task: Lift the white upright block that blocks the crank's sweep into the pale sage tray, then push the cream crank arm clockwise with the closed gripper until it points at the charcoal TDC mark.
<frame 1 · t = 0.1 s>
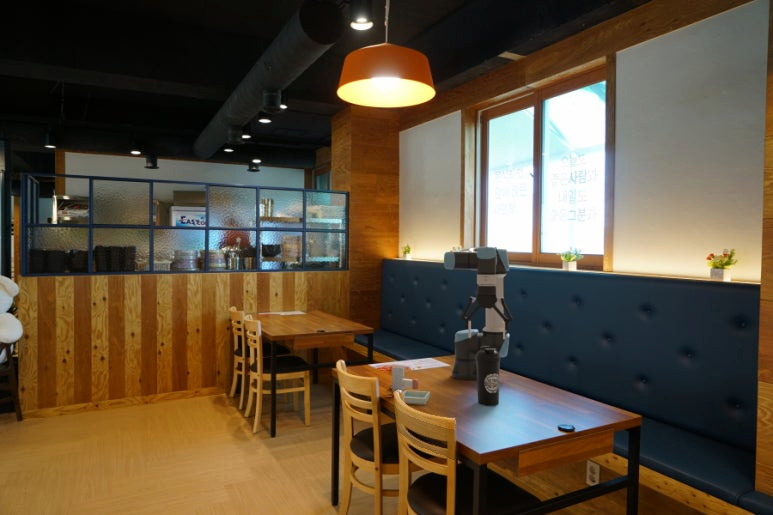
hand: (486, 338, 207), 28 cm above the table, fingers open, 13 cm apart
water bottle: (488, 403, 214), on the table
white upright block: (398, 393, 228), on the table
tdc mark: (388, 396, 224), on the table
tray: (414, 400, 218), on the table
crank base: (396, 388, 238), on the table
crank: (405, 381, 235), point 4 cm above the table, hinge at 70.0°
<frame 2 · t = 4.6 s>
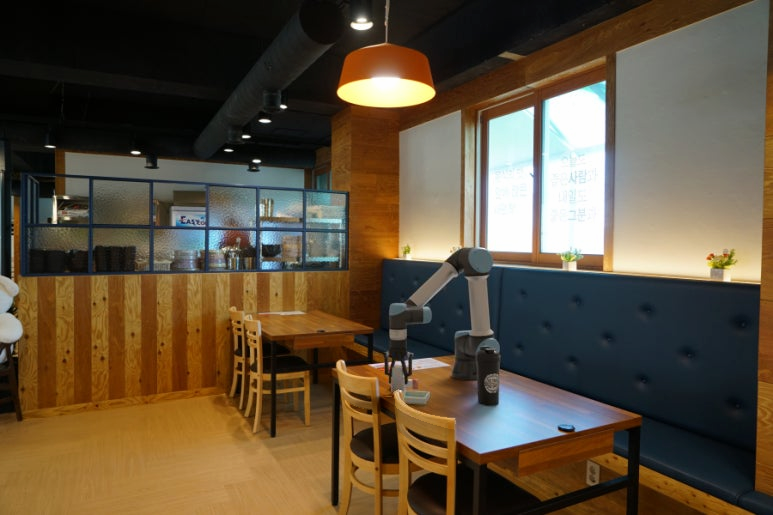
hand: (398, 391, 228), 1 cm above the table, fingers closed on white upright block, 4 cm apart
white upright block: (398, 393, 228), on the table, touching gripper
everything else where it was.
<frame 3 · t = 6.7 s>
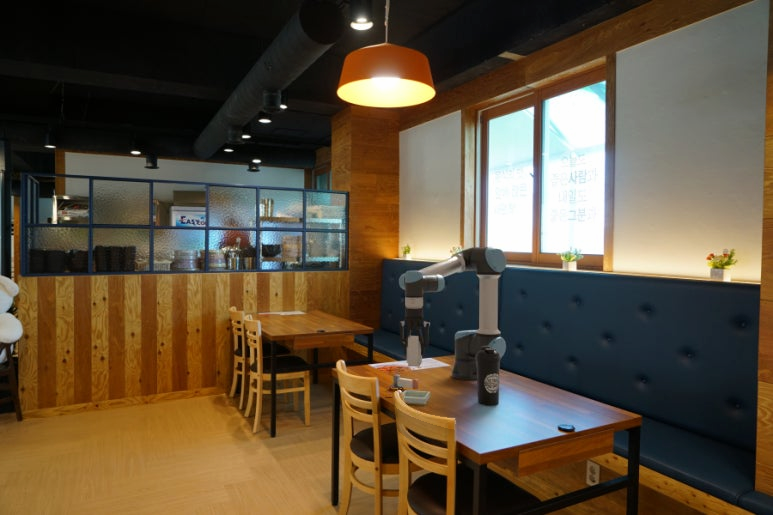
hand: (414, 362, 218), 16 cm above the table, fingers closed on white upright block, 4 cm apart
white upright block: (414, 365, 218), point 15 cm above the table, touching gripper
everything else where it was.
when the fingers open (3 cm above the table, at t = 8.8 s): white upright block drops 1 cm, resting on tray.
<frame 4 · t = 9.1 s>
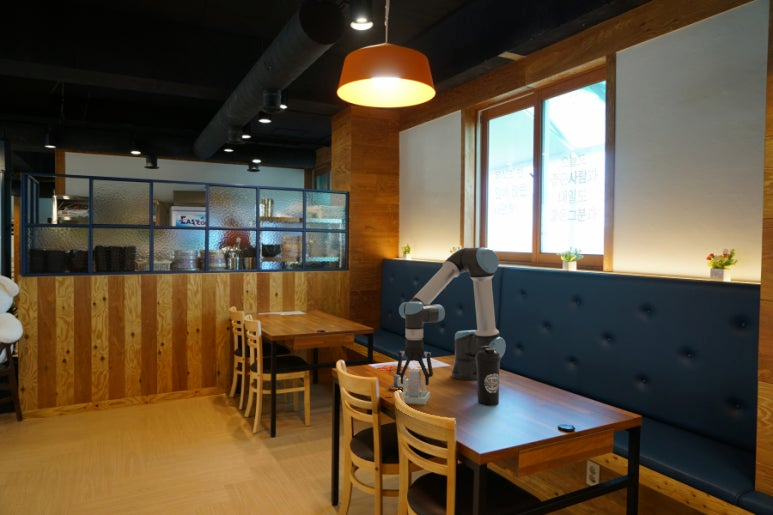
hand: (414, 392, 218), 3 cm above the table, fingers open, 8 cm apart
white upright block: (414, 398, 218), point 1 cm above the table, touching tray
everything else where it was.
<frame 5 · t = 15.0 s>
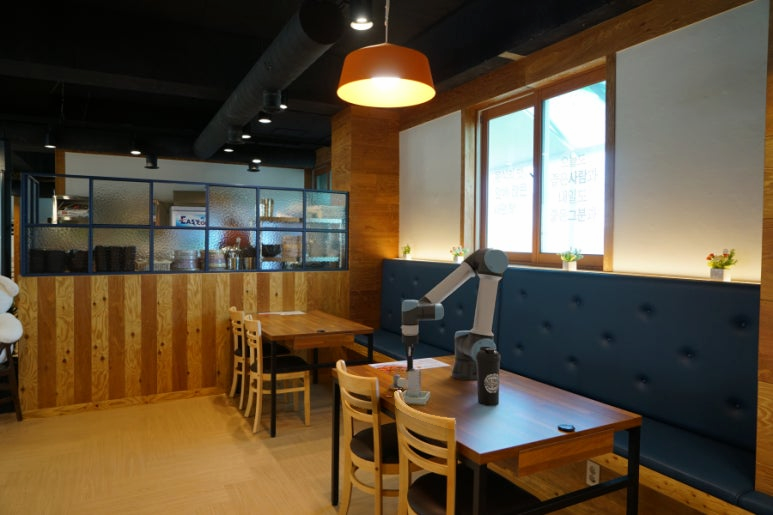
hand: (410, 385, 236), 2 cm above the table, fingers closed
crank: (405, 381, 235), point 4 cm above the table, hinge at 68.5°, touching gripper
everything else where it was.
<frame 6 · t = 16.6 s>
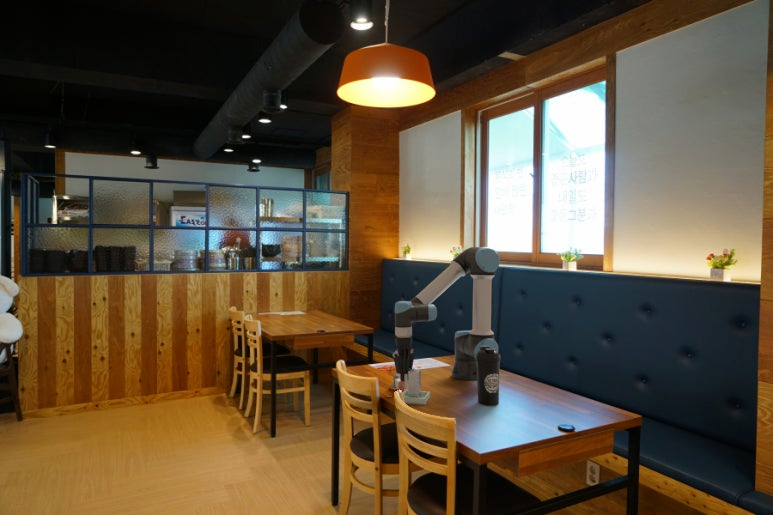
hand: (404, 388, 232), 1 cm above the table, fingers closed
crank: (398, 382, 233), point 4 cm above the table, hinge at 25.8°, touching gripper
everything else where it was.
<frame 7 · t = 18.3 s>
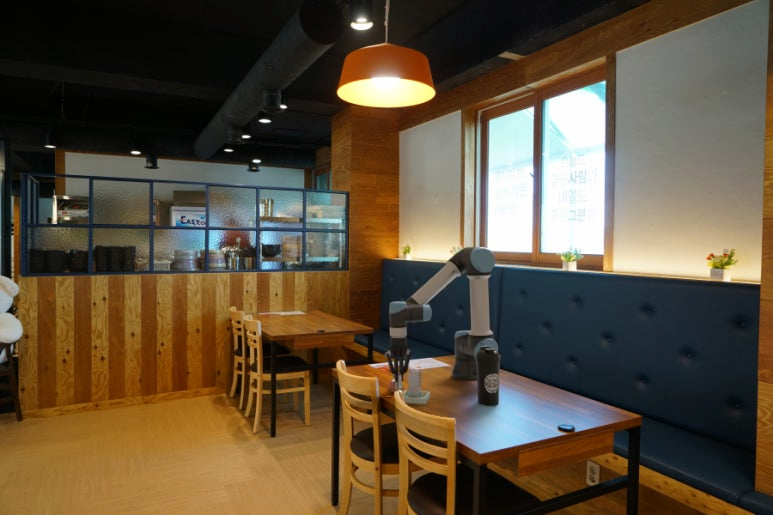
hand: (399, 388, 231), 1 cm above the table, fingers closed
crank: (394, 382, 233), point 4 cm above the table, hinge at 2.6°, touching gripper
everything else where it was.
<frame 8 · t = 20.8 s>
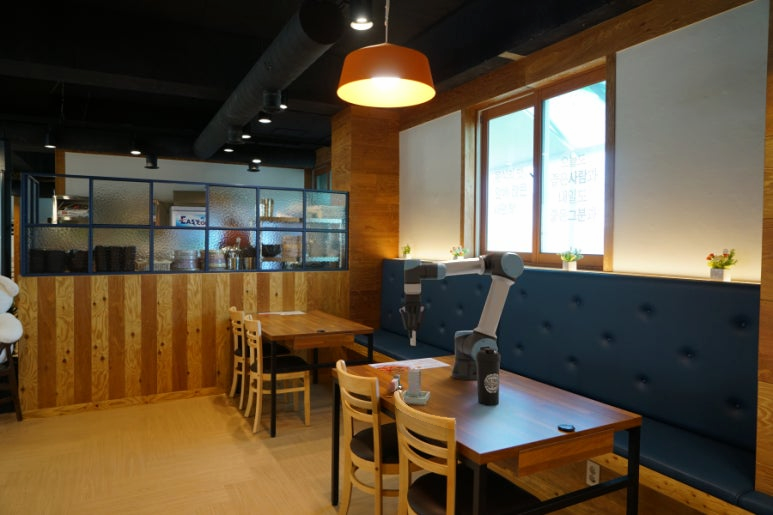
hand: (413, 345, 234), 20 cm above the table, fingers closed
crank: (394, 382, 233), point 4 cm above the table, hinge at 2.5°
everything else where it was.
at the end: white upright block inside the target area on the tray (0.0 cm from its centre), point 0.6 cm above the tray's base; crank at +2° (first picture: +70°); the gripper is holding nothing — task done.
